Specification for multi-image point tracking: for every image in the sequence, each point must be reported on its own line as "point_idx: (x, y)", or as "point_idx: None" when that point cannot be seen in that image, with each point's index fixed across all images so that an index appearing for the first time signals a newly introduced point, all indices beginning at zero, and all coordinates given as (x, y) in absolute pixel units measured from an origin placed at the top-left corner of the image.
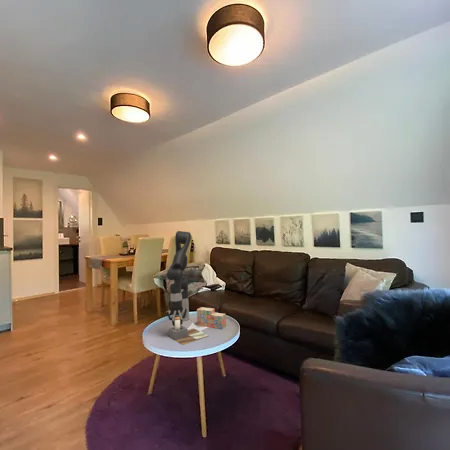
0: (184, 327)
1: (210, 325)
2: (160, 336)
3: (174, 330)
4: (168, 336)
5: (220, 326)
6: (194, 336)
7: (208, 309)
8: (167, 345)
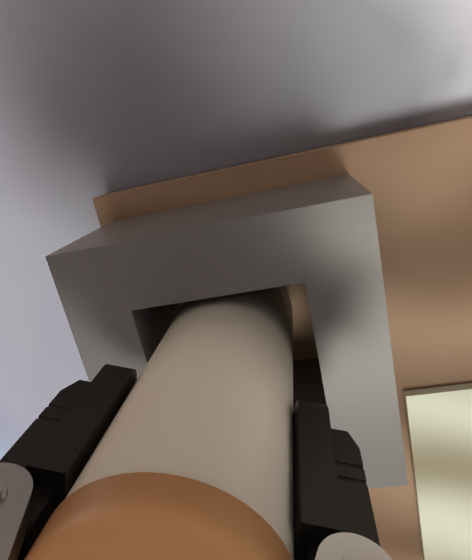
0: (387, 387)
1: None
2: (2, 26)
3: None
4: (100, 222)
5: None
6: (452, 482)
7: None
8: None
